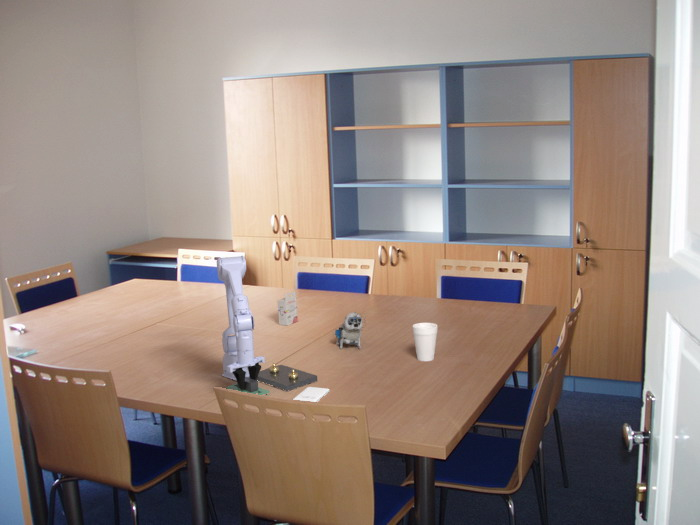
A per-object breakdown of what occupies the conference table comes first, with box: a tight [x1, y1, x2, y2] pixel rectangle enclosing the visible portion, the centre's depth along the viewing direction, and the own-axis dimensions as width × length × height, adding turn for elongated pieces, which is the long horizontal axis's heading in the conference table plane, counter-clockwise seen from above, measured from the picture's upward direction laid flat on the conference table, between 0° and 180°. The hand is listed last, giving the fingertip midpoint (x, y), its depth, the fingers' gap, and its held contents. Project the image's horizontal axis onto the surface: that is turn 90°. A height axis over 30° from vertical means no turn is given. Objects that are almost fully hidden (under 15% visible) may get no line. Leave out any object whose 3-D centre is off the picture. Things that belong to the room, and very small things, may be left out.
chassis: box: [257, 363, 318, 392], centre depth 264 cm, size 20×14×5 cm
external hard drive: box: [292, 386, 330, 403], centre depth 247 cm, size 2×8×12 cm
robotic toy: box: [334, 311, 366, 350], centre depth 302 cm, size 13×17×15 cm
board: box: [226, 377, 271, 395], centre depth 253 cm, size 15×7×4 cm, turn 45°
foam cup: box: [412, 322, 438, 362], centre depth 282 cm, size 10×9×13 cm
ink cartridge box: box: [277, 290, 299, 327], centre depth 342 cm, size 9×5×15 cm, turn 147°
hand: (247, 387), depth 253 cm, fingers open, 4 cm apart
